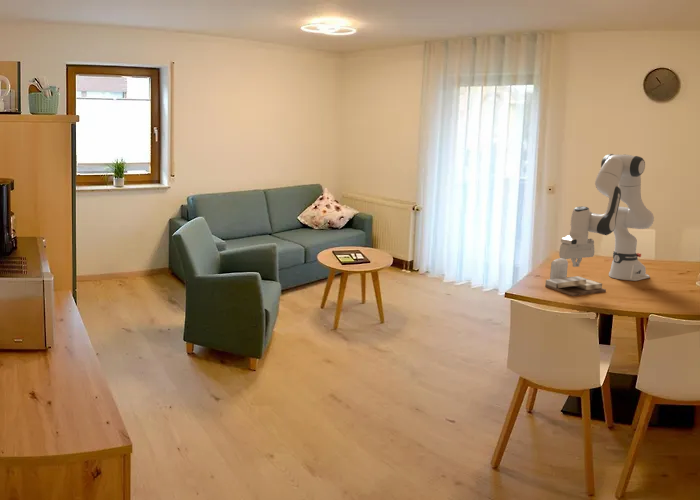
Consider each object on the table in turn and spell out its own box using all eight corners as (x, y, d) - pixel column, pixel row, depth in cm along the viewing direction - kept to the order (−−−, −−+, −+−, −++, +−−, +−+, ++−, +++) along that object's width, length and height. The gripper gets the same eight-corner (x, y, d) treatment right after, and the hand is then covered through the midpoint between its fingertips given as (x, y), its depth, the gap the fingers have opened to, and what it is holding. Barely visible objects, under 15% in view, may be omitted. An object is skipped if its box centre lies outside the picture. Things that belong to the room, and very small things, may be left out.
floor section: (577, 282, 370) (577, 276, 370) (605, 291, 353) (606, 284, 352) (545, 286, 361) (545, 279, 360) (572, 296, 343) (573, 289, 343)
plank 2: (588, 284, 363) (589, 279, 362) (601, 288, 355) (602, 283, 354) (573, 286, 358) (573, 281, 358) (586, 290, 350) (586, 285, 350)
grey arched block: (561, 278, 378) (563, 256, 376) (567, 280, 375) (569, 258, 372) (548, 281, 373) (550, 258, 370) (554, 282, 369) (556, 260, 367)
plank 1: (573, 286, 357) (573, 281, 357) (586, 284, 349) (585, 279, 349) (558, 288, 353) (557, 283, 353) (570, 286, 345) (569, 281, 345)
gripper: (589, 237, 352) (586, 263, 354) (558, 239, 343) (556, 266, 346) (598, 239, 346) (596, 266, 349) (567, 241, 337) (564, 269, 340)
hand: (575, 266), depth 347 cm, fingers closed
